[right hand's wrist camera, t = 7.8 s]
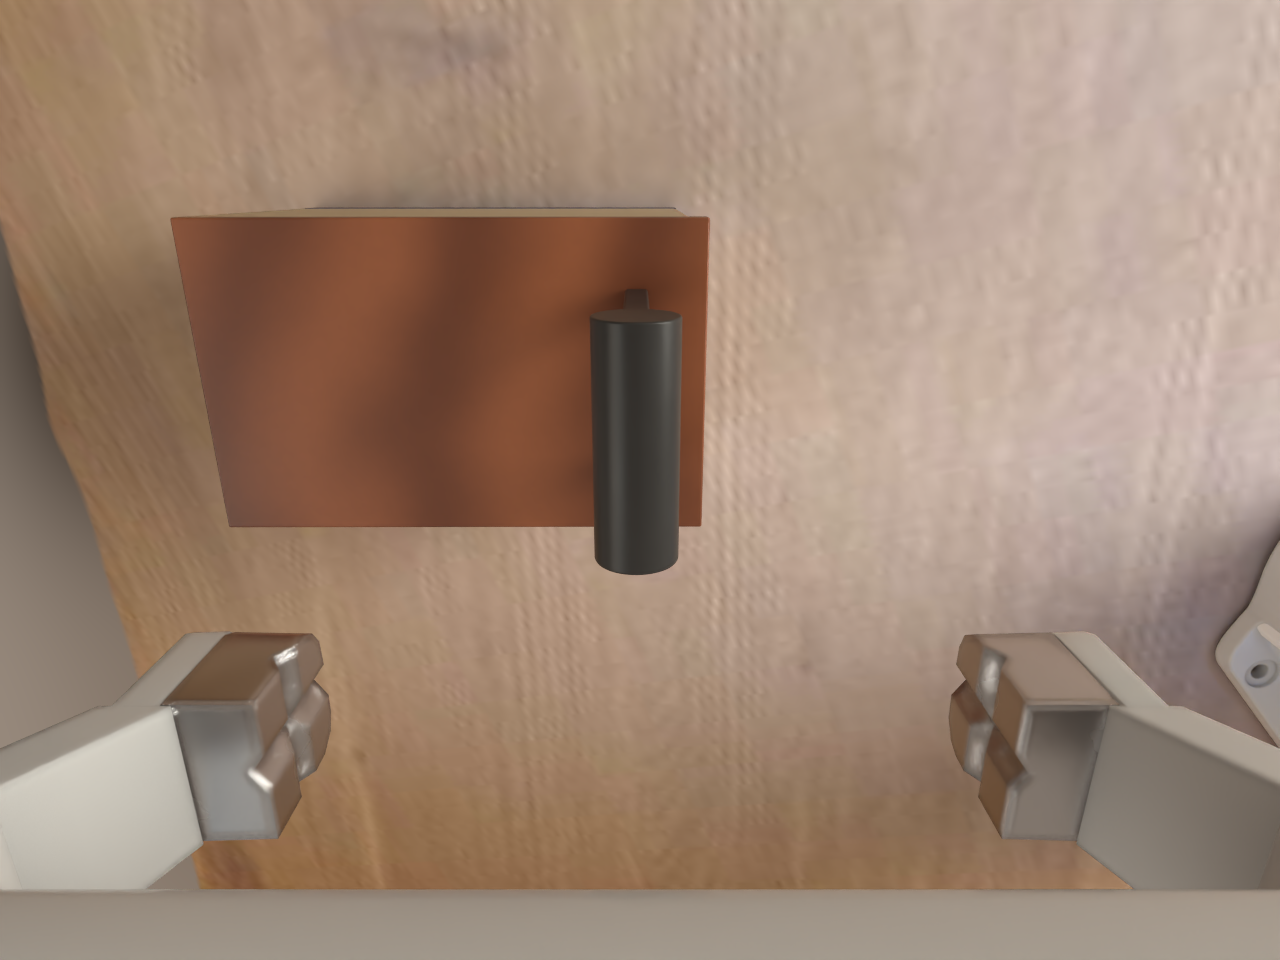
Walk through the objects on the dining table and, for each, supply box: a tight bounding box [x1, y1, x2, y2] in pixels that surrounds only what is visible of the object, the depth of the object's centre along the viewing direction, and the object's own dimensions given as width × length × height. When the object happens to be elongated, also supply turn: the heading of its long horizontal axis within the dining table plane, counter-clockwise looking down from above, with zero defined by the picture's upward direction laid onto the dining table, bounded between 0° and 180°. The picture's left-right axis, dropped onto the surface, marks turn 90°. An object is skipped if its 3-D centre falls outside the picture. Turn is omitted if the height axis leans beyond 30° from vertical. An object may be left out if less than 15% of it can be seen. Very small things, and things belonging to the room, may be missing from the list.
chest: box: [189, 208, 688, 217], centre depth 31 cm, size 16×10×10 cm, turn 90°
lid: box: [171, 217, 710, 575], centre depth 23 cm, size 16×10×8 cm, turn 90°
